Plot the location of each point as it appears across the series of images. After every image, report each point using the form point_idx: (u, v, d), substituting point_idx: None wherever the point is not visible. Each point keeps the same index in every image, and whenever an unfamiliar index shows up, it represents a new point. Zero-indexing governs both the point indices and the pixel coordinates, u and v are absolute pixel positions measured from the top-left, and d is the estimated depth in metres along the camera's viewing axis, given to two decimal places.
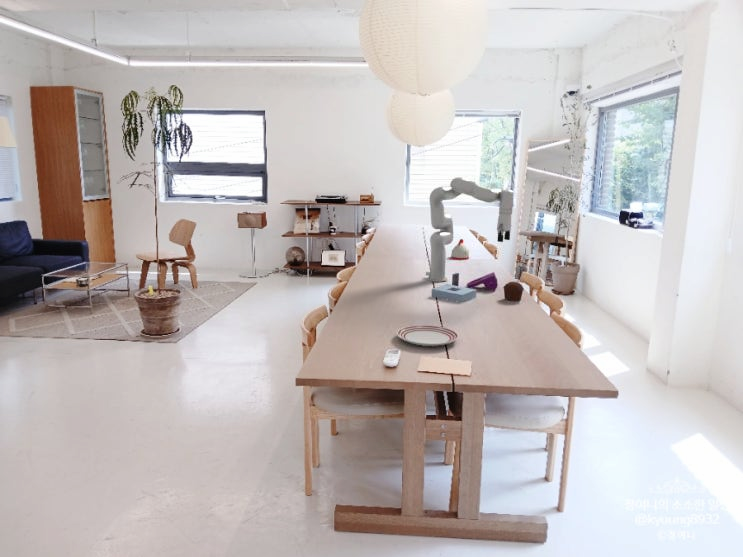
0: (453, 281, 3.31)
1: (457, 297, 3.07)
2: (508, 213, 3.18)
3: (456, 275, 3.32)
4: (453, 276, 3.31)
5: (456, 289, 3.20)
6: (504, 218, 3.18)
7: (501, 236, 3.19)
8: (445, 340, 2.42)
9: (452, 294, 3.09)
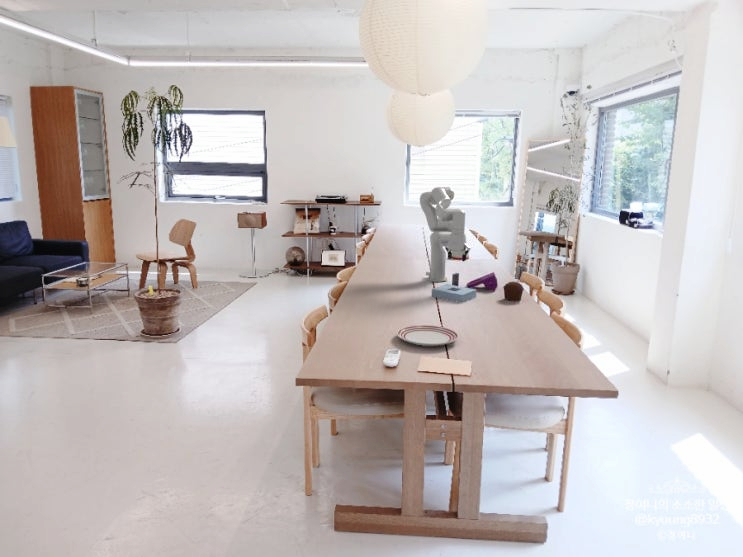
0: (453, 281, 3.31)
1: (457, 297, 3.07)
2: None
3: (456, 275, 3.32)
4: (453, 276, 3.31)
5: (456, 289, 3.20)
6: (465, 237, 3.25)
7: (465, 255, 3.27)
8: (445, 340, 2.42)
9: (452, 294, 3.09)
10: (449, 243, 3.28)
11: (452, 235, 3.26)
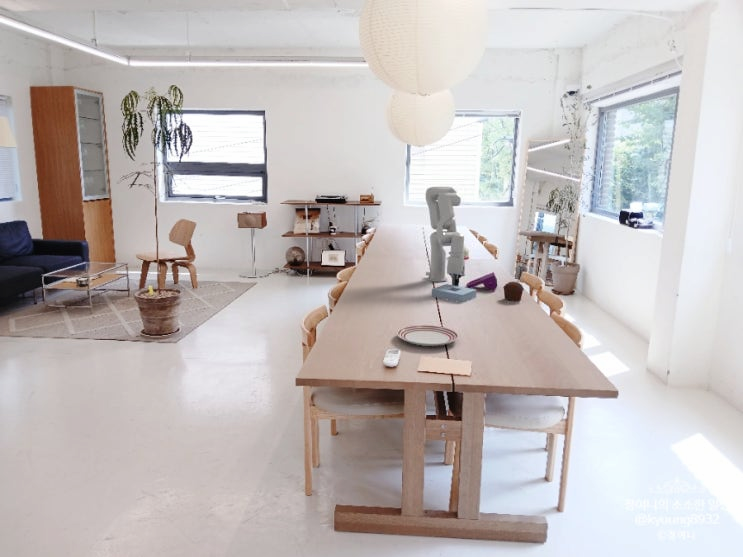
0: (454, 281, 3.31)
1: (457, 297, 3.07)
2: None
3: None
4: (453, 276, 3.31)
5: (456, 289, 3.20)
6: (464, 261, 3.29)
7: (458, 279, 3.33)
8: (445, 340, 2.42)
9: (452, 294, 3.09)
10: (448, 266, 3.32)
11: (451, 258, 3.29)
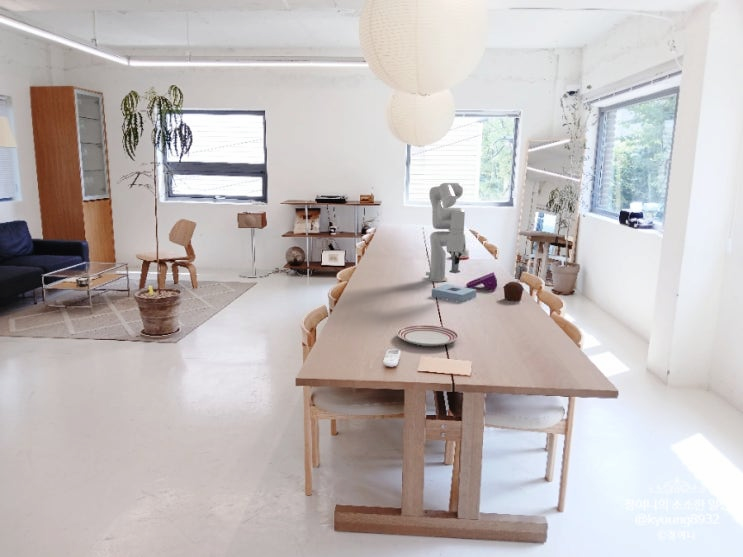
0: (453, 262, 3.12)
1: (457, 297, 3.07)
2: None
3: None
4: (453, 257, 3.12)
5: (456, 289, 3.20)
6: None
7: None
8: (445, 340, 2.42)
9: (452, 294, 3.09)
10: (448, 244, 3.12)
11: (451, 235, 3.10)
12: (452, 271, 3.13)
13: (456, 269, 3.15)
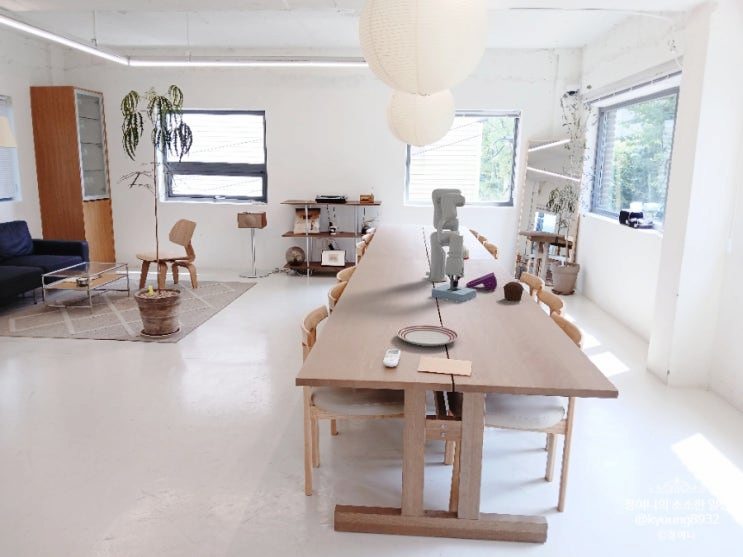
0: (452, 287, 3.14)
1: (457, 297, 3.07)
2: None
3: None
4: (451, 282, 3.14)
5: None
6: (463, 261, 3.12)
7: (457, 281, 3.15)
8: (445, 340, 2.42)
9: (452, 294, 3.09)
10: (446, 267, 3.14)
11: (449, 259, 3.12)
12: None
13: None
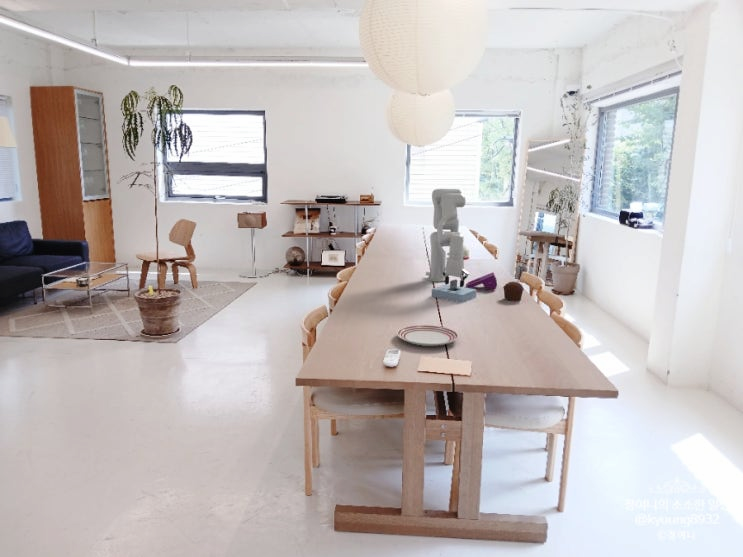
0: (451, 288, 3.14)
1: (457, 297, 3.07)
2: None
3: (454, 282, 3.15)
4: (451, 283, 3.14)
5: None
6: (463, 262, 3.12)
7: (463, 281, 3.13)
8: (445, 340, 2.42)
9: (452, 294, 3.09)
10: (446, 268, 3.15)
11: (449, 260, 3.13)
12: None
13: None
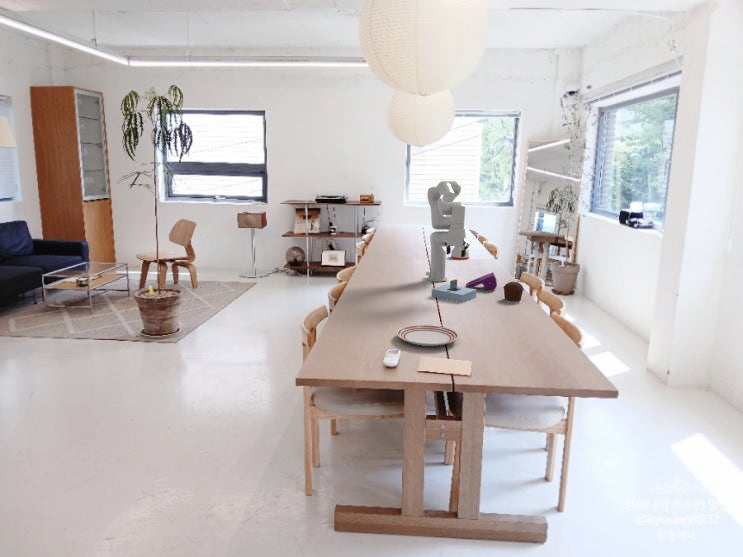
0: (451, 288, 3.14)
1: (457, 297, 3.07)
2: None
3: (454, 282, 3.15)
4: (451, 283, 3.14)
5: None
6: None
7: None
8: (445, 340, 2.42)
9: (452, 294, 3.09)
10: (448, 238, 3.17)
11: (451, 230, 3.14)
12: None
13: None
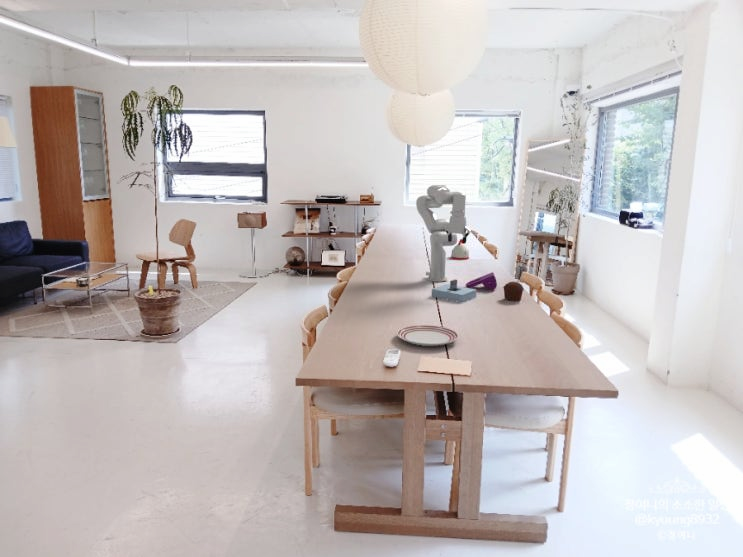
0: (451, 288, 3.14)
1: (457, 297, 3.07)
2: None
3: (454, 282, 3.15)
4: (451, 283, 3.14)
5: None
6: (465, 220, 3.27)
7: (465, 238, 3.28)
8: (445, 340, 2.43)
9: (452, 294, 3.09)
10: (449, 226, 3.30)
11: (452, 218, 3.28)
12: None
13: None
